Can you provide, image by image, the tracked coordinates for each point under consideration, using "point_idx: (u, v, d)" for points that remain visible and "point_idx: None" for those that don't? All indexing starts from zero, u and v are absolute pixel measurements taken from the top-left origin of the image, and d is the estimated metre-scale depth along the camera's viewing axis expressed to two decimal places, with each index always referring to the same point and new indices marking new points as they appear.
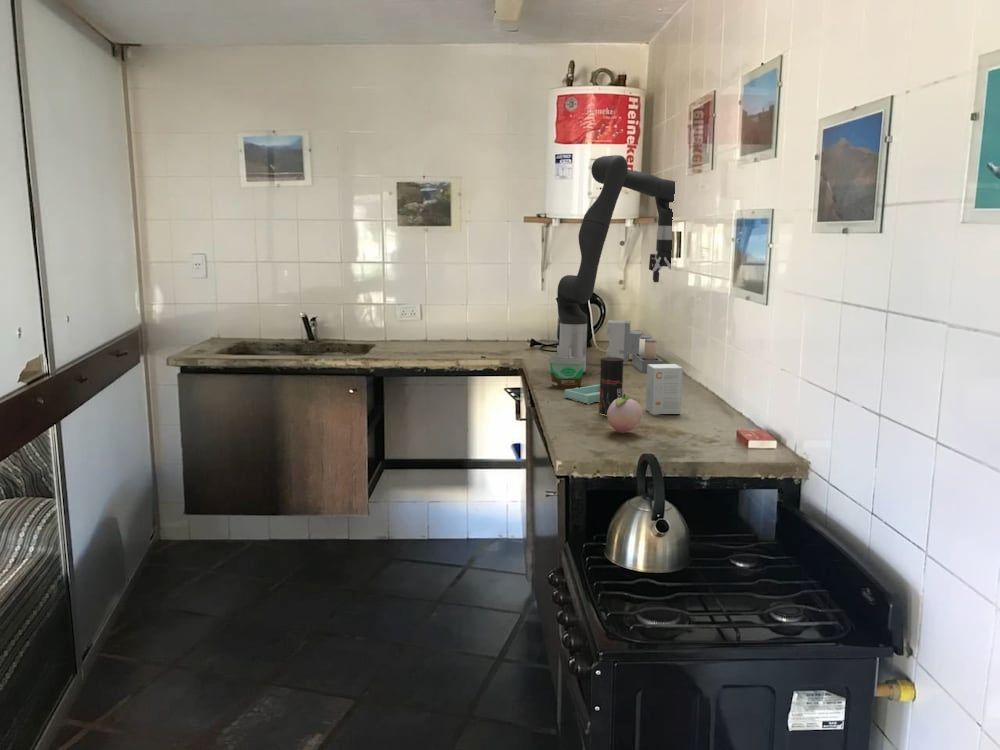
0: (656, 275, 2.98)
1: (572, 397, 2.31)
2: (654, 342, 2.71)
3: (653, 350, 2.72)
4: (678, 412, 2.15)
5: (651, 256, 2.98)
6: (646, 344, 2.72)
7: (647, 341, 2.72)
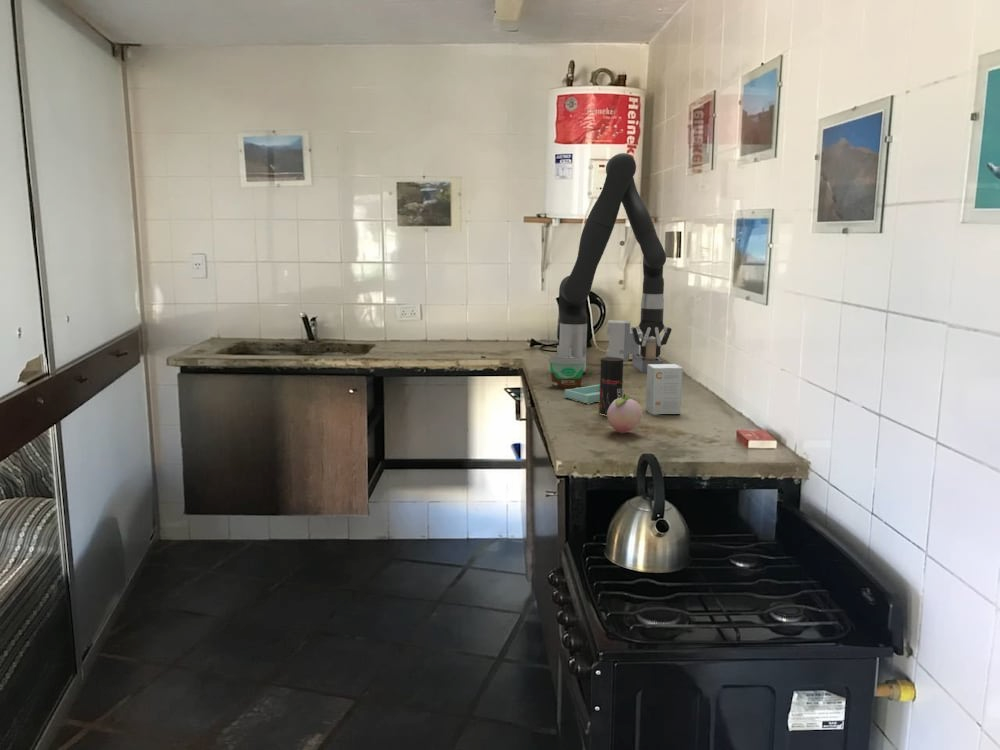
0: None
1: (572, 397, 2.31)
2: (654, 342, 2.71)
3: (653, 350, 2.72)
4: (678, 412, 2.15)
5: (635, 330, 2.71)
6: (646, 344, 2.72)
7: (647, 341, 2.72)
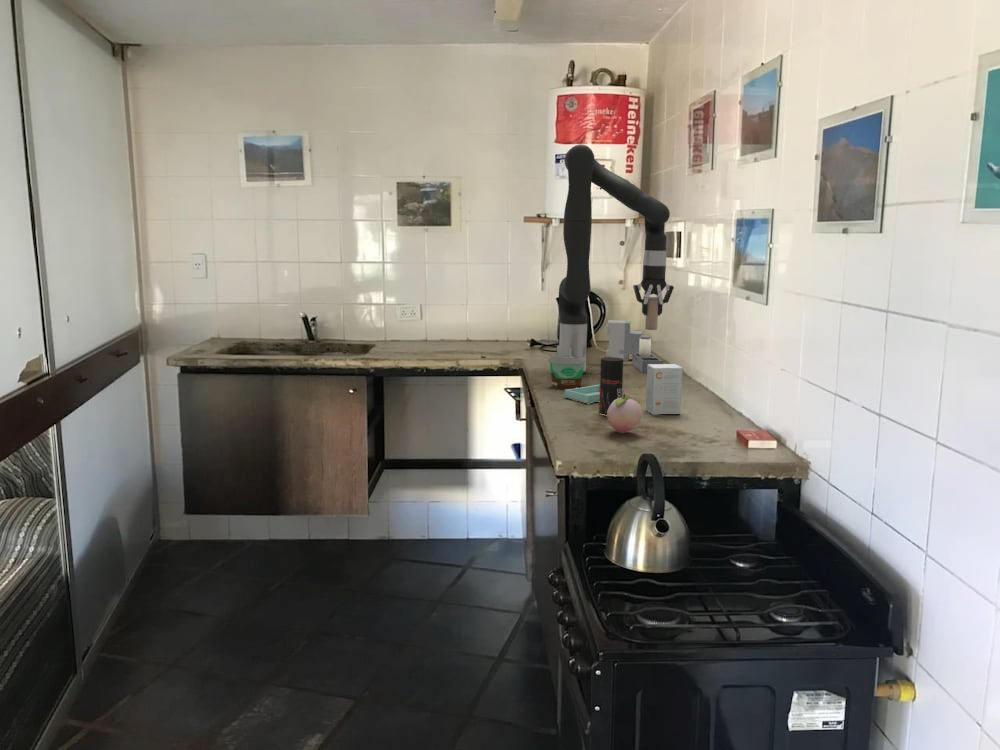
0: None
1: (572, 397, 2.31)
2: (656, 300, 2.69)
3: (654, 308, 2.69)
4: (678, 412, 2.15)
5: (637, 287, 2.68)
6: (648, 302, 2.69)
7: (649, 299, 2.69)
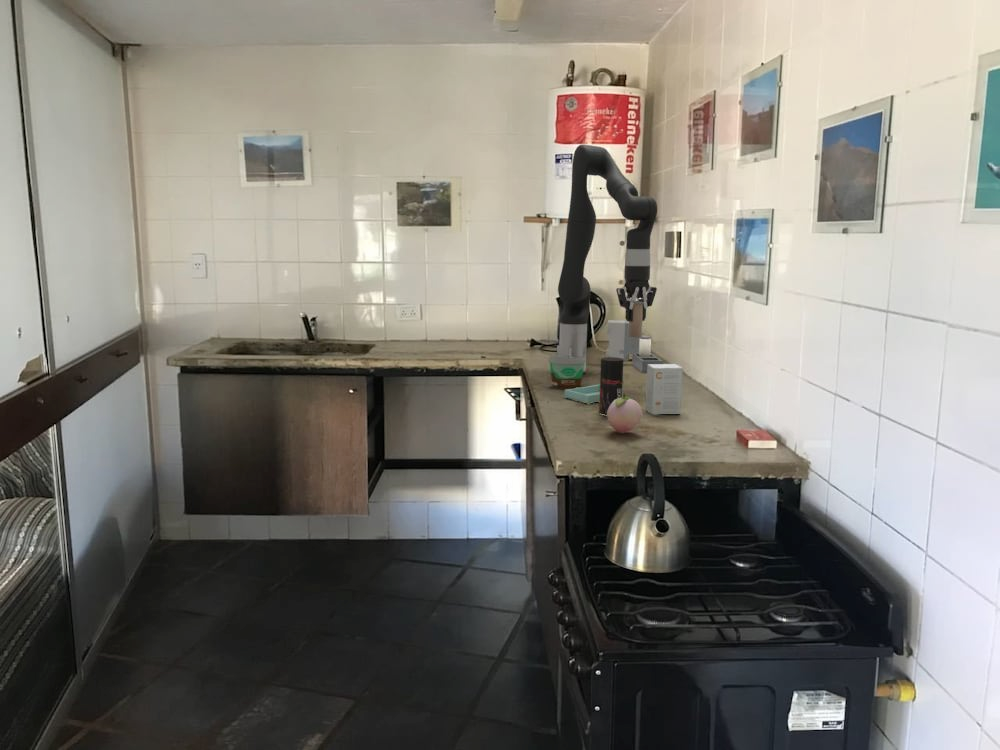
0: None
1: (572, 397, 2.31)
2: (642, 304, 2.42)
3: (641, 313, 2.42)
4: (678, 412, 2.15)
5: (623, 291, 2.38)
6: (633, 307, 2.41)
7: (635, 303, 2.41)
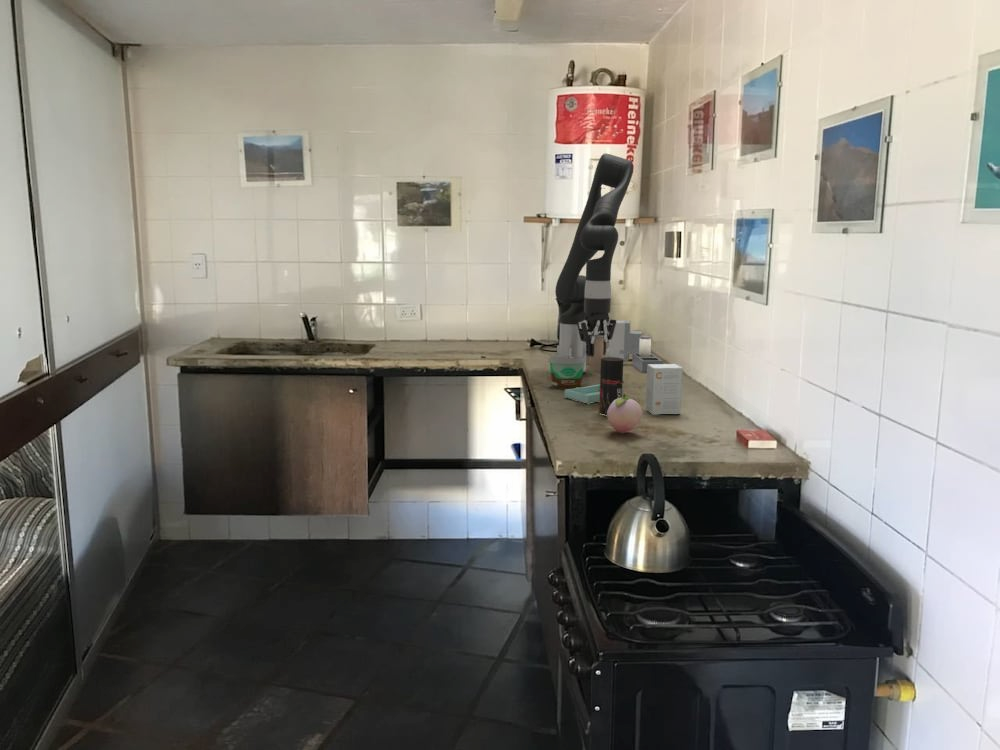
0: None
1: (572, 397, 2.31)
2: (603, 338, 2.30)
3: (602, 347, 2.30)
4: (678, 412, 2.15)
5: (585, 325, 2.26)
6: (595, 341, 2.29)
7: (596, 337, 2.29)
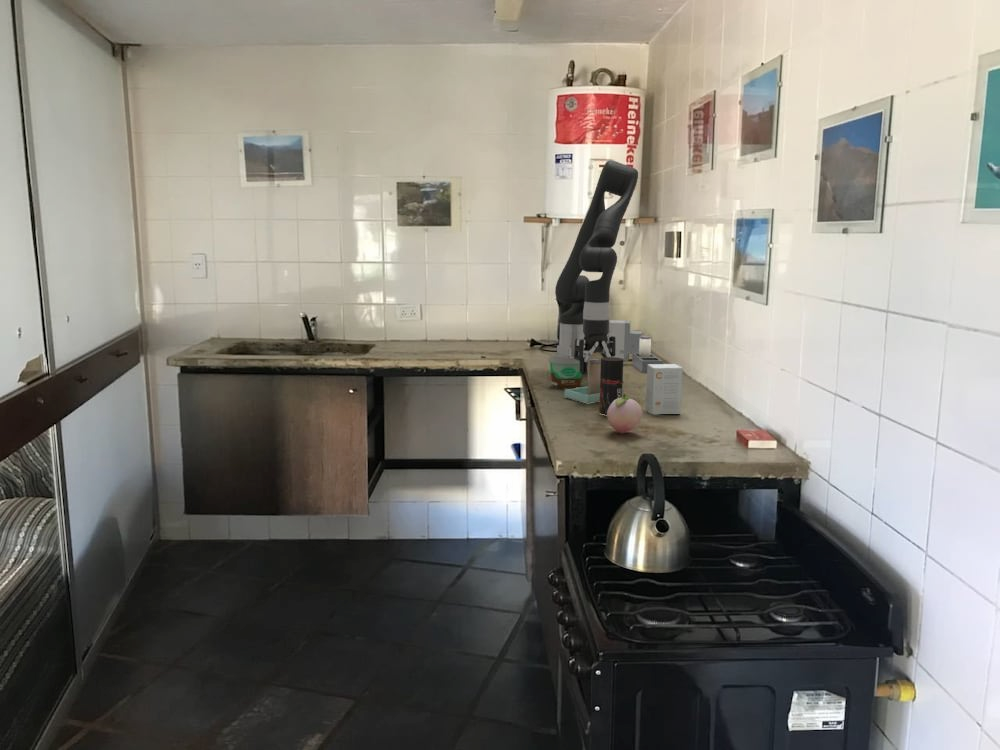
0: None
1: (572, 397, 2.31)
2: None
3: (600, 372, 2.32)
4: (678, 412, 2.15)
5: (582, 342, 2.27)
6: (593, 366, 2.31)
7: (594, 362, 2.31)
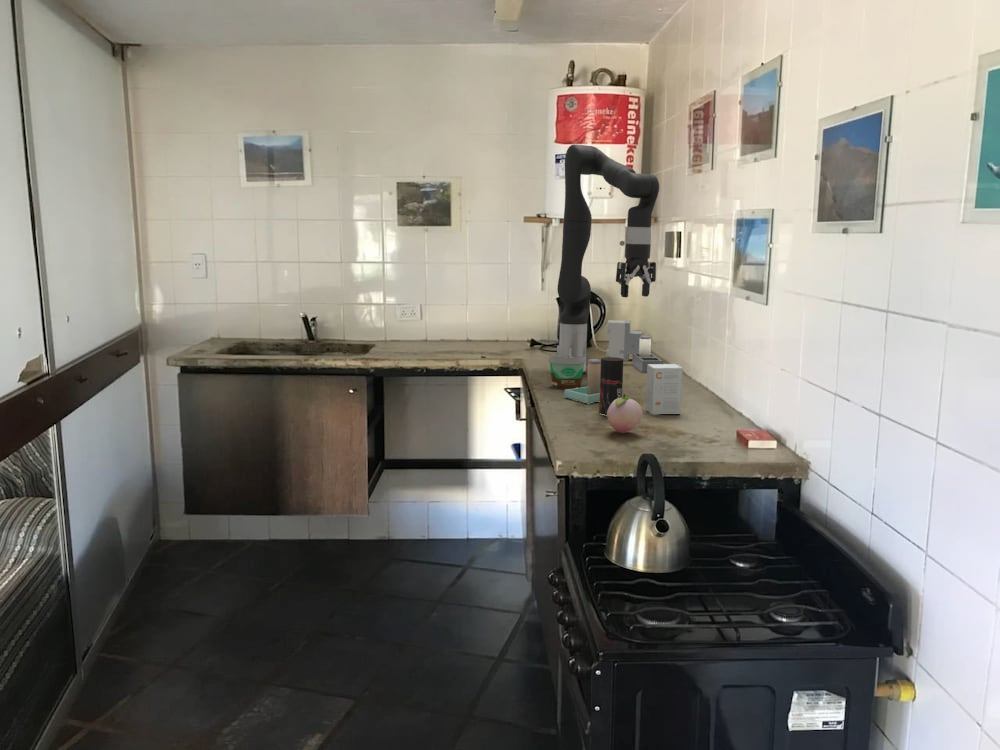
0: None
1: (572, 397, 2.31)
2: None
3: (600, 372, 2.32)
4: (678, 412, 2.15)
5: (624, 265, 2.36)
6: (593, 366, 2.31)
7: (594, 362, 2.31)
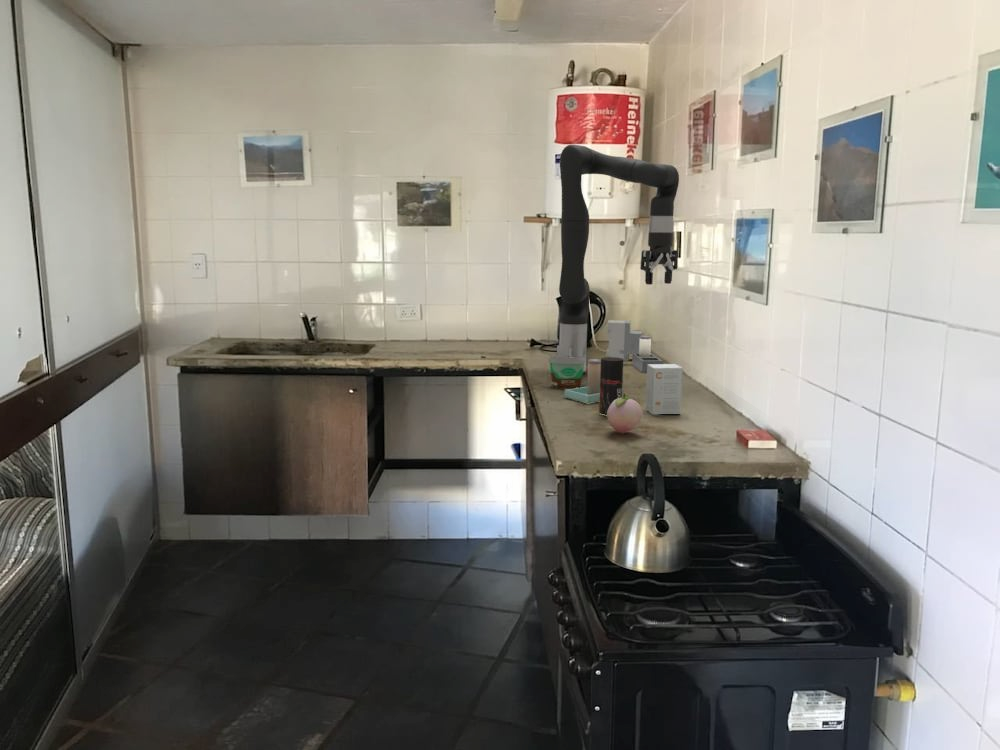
0: None
1: (572, 397, 2.31)
2: None
3: None
4: (678, 412, 2.15)
5: (649, 253, 2.43)
6: (593, 366, 2.31)
7: (594, 362, 2.31)
